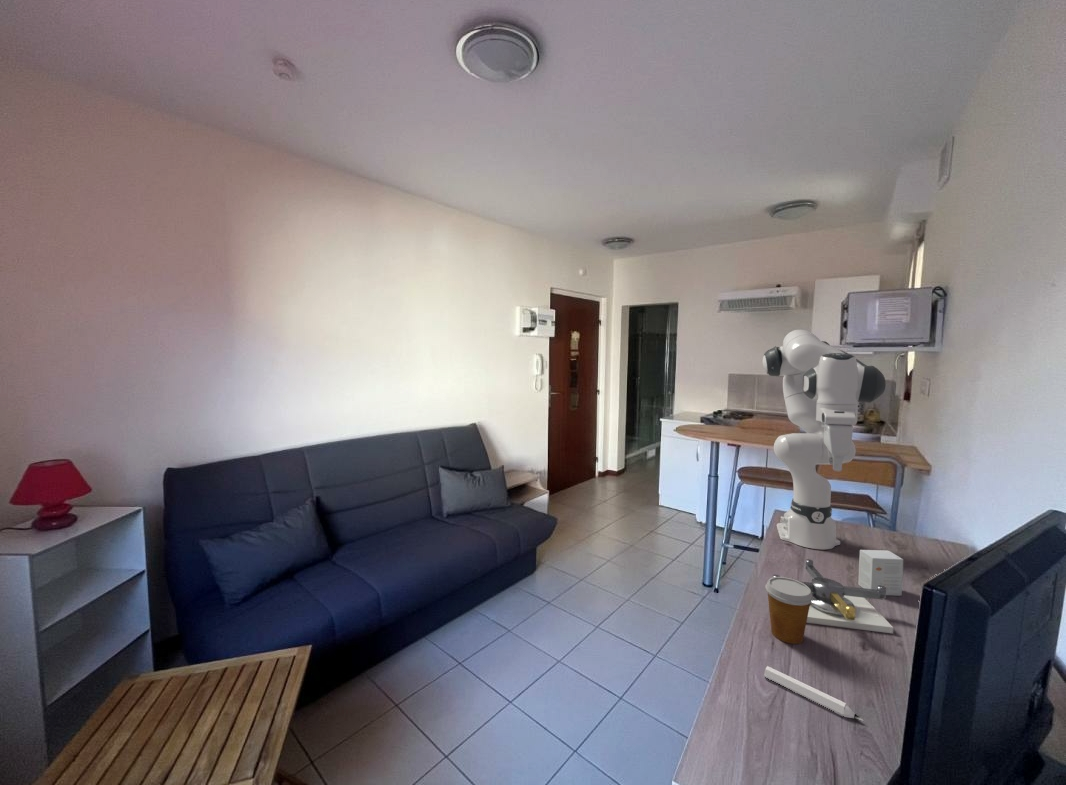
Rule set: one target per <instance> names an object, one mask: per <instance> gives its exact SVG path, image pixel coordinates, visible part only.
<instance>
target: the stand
mask: <svg viewBox="0 0 1066 785" xmlns="http://www.w3.org/2000/svg"><path fill="white" fill-rule="evenodd" d="M844 597H845V598H847V599H848V600H850V601H851V602H852V603H853V604H854V606H855V620H850V619H846V618H845V616H839V615H833V614H829V613H826V612H823V611H821V610H819V609H817V608H815V607H813V606H812V605H811V604H810V607H809V612H808V617H807V622H806V624H813V625H821V626H830V627H837V628H847V629H854V630H855V629H856V630H862V631H869V632H871V631H872V632H877V633H883V634H885V633H886V634H894V626H892V625H891V623H890V622H889V621H888V620H887V619H886V618H885V617H884V616H883V615H882V614H881V613H880V612H879V611H878V610H877V609H876V607H874V606H873V605H872V604H871V603H870V602H869V601H868V599H867V598H863V597H853V596H844Z"/></svg>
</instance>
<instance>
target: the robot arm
mask: <svg viewBox="0 0 1066 785" xmlns="http://www.w3.org/2000/svg"><path fill="white" fill-rule="evenodd" d="M761 362H762V367H763V369H764V371H765V372H766V374H767V375H769V376H771V377H780V376H783V378H782V391H783V392H782V393H783V399H784V403H785V408H786V414H787V417H788V420H789V422H791V423H792V424H793V425H795V426H797V427H799V428H801V429H802V430H803V431H804V432H792V433H787V434H782V435H778V437H777V438H776V439H775V441H774V444H773V452H774V455H775V457H776V458H777V459H778V460H779V461H780V462H781V463H782V464H784V465H785V466H786V468H787V469H788V470H789V472H790V474H791V477H792V484H793V486H792V488H793V494H792V495H793V498H792V500H791V502H790V509H788V510H787V511H786V512H784V514H783V516H782V515H781V516H780V518H779V519H780V520H779V521H780V522H778V523H776V528H777V531H778V532H777V533H778V535H779V538H780V539H781V540H782V541H785V542H790V543H792V544H794V545H797V546H800V547H804V548H807V549H808V548H809V549H813V550H832V549H834V548H835V546H839V545H841V541H840V540H839V539H838V538H837V528H836V526H837V525H836V521H835V520H834V518H832V514H833V513H832V512H833V506H832V505H831V501H832V500H831V498H832V496H831V494H832V485H831V483H830V482H829V480H828V479H827V478H826V477H824V476H822V475H820V474H819V473H817V470H816V467H817V466H818V465H821V466H822V465H823V466H824V465H828V466H830V465H831V466H832V470H833V471H834V472H842V471H843V464H847V463H850V462H851V461H852V460H853V459H854V458H855V456H856V453H857V452H856V451H857V450H856V445H855V443H854V441H853V440H852V439H853V434H854V433H853V431H854V426H856V425H857V423H858V416H859V414H858V413H859V412H858V411H859V409H858V407H859V403H868V404H869V403H870V404H871V403H872V402H874V401H875V400H877V399H879V398H880V397H881V396H882V395H883V394H884V392H885V391H886V384H887V383H886V378H885V375H884V374H883V372H882V371H881V370H879V369H878V367H875V366H874V365H867V364H866V363H864V362H862V361H860V360H859V359H857V358H856V356H855V355H853V354H850V353H848V352H846V351H843V350H842V349H839V348H836V347H834V346H831V345H830V343H828V342H827V341H826V340H825V341H823V340H821V339H820V337H819V338H818V336H816V335H815V334H814V333H813V332H811V331H809V330H806V329H794V330H792V331H790V332H788V333H787V334H786V335H785V336H784V338H783V341H782V345H781V346H773V348H770V349H768V350H766V351H765V352H764V353H763V356H762V361H761Z"/></svg>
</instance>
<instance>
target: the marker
mask: <svg viewBox="0 0 1066 785" xmlns="http://www.w3.org/2000/svg"><path fill="white" fill-rule="evenodd" d="M763 677H764V678H765V677H766V678H768V679H770V680H772V681H774V682H776V683H778V684H780V685H782V686H784V687H786V688H788V689H790V690H792V691H793V693H794V692H795V693H794V694H796V693H798V694H800V695H802V696H804V697H806V698H808V699H807V700H809V699H810V700H809V701H811V700H812V701H811V702H813V701H814V702H813V703H815V702H816V703H815V704H817V703H818V704H817V705H819V704H820V705H819V706H821V705H822V706H821V707H823V706H824V707H823V708H825V707H826V708H825V709H827V708H828V709H827V710H829V709H830V710H829V711H831V710H832V711H831V712H833V711H834V712H833V713H835V714H837V715H839V716H841V717H843V716H844V718H847V719H848V718H849V719H855V720H859V721H863V722H864V719H863V718H861V717H860V716H859V715H858V714H857V713H855V712H854V711H853V710H852V709H851V707H849V705H847V702H844V701H842V700H840V699H838V698H835V697H833V696H831V695H830V694H827V693H826V692H823V691H821V690H820V689H817V688H815V687H812V686H810V685H808V684H806V683H804V682H802V681H800V680H798V679H795V678H794V677H792V676H790V675H787V674H786V673H783V672H781V671H779V670H777V669H775V668H773V667H771V666H768V665H766V667H765V669H764V674H763ZM766 678H765V679H766ZM768 679H767V680H768ZM770 680H769V681H770ZM772 681H771V682H772ZM774 682H773V683H774ZM776 683H775V684H776ZM778 684H777V685H778ZM780 685H779V686H780ZM782 686H781V687H782ZM784 687H783V688H784ZM786 688H785V689H786ZM788 689H787V690H788ZM790 690H789V691H790ZM792 691H791V692H792ZM798 694H797V695H798ZM800 695H799V696H800ZM802 696H801V697H802ZM804 697H803V698H804ZM806 698H805V699H806Z"/></svg>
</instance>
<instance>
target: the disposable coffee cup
mask: <svg viewBox="0 0 1066 785" xmlns="http://www.w3.org/2000/svg"><path fill="white" fill-rule="evenodd" d="M799 581H800V580H796V579H794V578H790V577H785V576H780V577H773V576H772V577H770V578H769V579H767V581H766V582H767V583H765V586H764V587H765V590H766V592H767V600H768V610H769V618H770V628H771V633H772V634H771V635H773V636H774V637H775V638H776V639H777V640H779V641H782V642H783V643H786V644H793V645H798V644H801V643H802V642H804V641H803V640H804V635H805V631H806V625H807V623H806V622H807V617H808V612H809V607H810V603H811V601H812V600H813V595H812V594H811V590H810V588H809V587H808V586H806V585H805V584H803V583H802V582H803V581H800V582H799Z"/></svg>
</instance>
